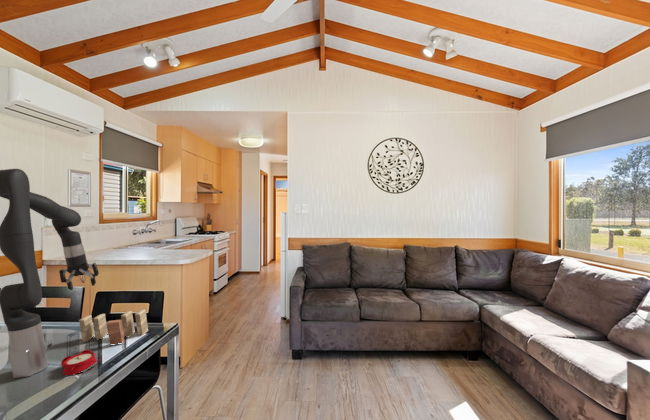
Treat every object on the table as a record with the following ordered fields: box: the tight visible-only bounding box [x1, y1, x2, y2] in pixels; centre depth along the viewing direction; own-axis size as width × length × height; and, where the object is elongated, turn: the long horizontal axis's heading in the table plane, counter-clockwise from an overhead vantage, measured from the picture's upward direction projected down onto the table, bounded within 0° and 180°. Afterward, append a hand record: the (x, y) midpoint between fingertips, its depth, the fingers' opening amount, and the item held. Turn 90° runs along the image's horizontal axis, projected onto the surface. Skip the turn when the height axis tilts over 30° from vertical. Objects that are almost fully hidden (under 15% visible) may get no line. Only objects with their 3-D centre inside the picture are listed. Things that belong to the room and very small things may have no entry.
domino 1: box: [78, 314, 96, 343], centre depth 147 cm, size 2×5×10 cm, turn 2°
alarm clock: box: [61, 349, 98, 376], centre depth 123 cm, size 10×6×15 cm
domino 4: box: [134, 309, 149, 337], centre depth 148 cm, size 2×5×10 cm, turn 2°
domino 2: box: [92, 313, 108, 341], centre depth 148 cm, size 2×5×10 cm, turn 2°
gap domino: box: [106, 319, 126, 345], centre depth 140 cm, size 2×5×10 cm, turn 93°
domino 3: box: [120, 310, 136, 338], centre depth 148 cm, size 2×5×10 cm, turn 2°
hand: (82, 287), depth 155 cm, fingers open, 8 cm apart
